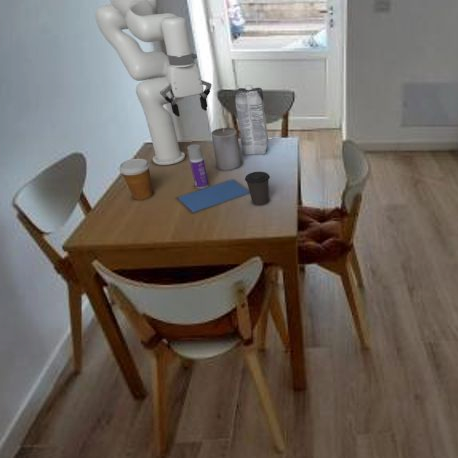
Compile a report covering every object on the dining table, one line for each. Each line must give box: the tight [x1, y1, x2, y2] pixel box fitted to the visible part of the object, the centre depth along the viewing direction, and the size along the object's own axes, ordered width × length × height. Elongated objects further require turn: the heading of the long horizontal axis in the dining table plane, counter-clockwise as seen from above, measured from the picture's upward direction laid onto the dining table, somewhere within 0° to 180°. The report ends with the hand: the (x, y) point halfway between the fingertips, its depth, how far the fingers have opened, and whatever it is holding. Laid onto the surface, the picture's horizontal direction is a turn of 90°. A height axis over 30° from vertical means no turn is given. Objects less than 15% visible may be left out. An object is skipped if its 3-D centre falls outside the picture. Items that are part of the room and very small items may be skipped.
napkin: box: [177, 179, 250, 213], centre depth 149 cm, size 13×21×1 cm, turn 129°
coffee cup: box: [244, 171, 271, 206], centre depth 142 cm, size 8×8×10 cm
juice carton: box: [234, 84, 269, 156], centre depth 174 cm, size 9×10×27 cm
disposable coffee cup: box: [118, 158, 153, 201], centre depth 147 cm, size 10×10×12 cm
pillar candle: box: [211, 127, 243, 171], centre depth 166 cm, size 10×10×15 cm
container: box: [186, 143, 209, 190], centre depth 151 cm, size 5×5×15 cm
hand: (191, 112), depth 147 cm, fingers open, 9 cm apart
